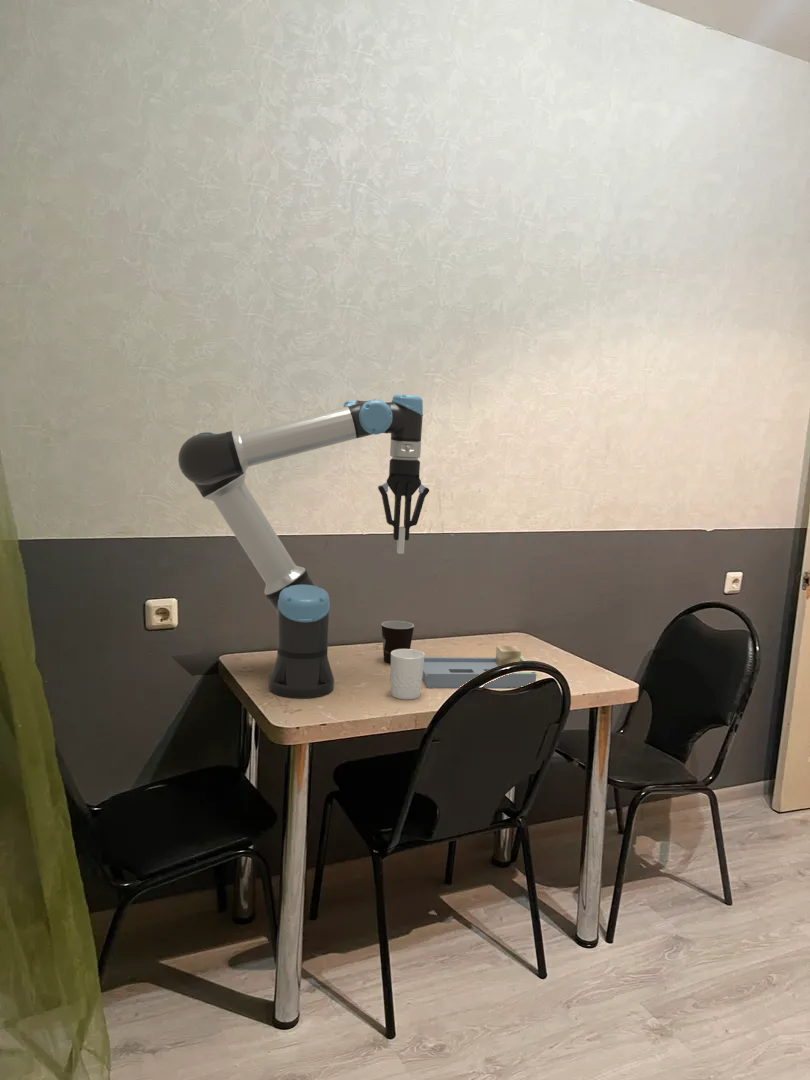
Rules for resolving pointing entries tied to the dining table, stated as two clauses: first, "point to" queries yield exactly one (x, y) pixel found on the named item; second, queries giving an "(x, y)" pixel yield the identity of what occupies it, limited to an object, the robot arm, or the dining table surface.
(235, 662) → the dining table surface
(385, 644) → the coffee mug
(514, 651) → the block
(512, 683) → the box
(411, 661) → the white cup
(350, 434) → the robot arm
